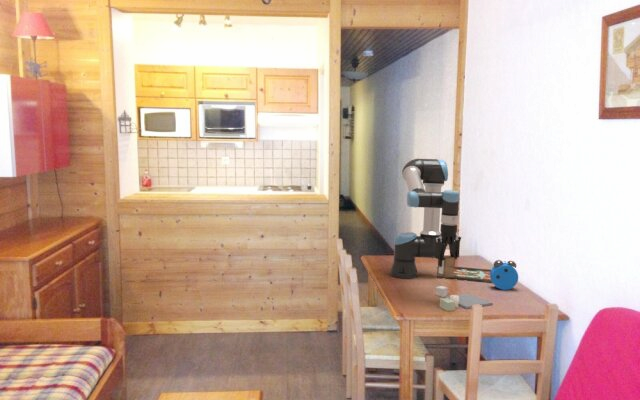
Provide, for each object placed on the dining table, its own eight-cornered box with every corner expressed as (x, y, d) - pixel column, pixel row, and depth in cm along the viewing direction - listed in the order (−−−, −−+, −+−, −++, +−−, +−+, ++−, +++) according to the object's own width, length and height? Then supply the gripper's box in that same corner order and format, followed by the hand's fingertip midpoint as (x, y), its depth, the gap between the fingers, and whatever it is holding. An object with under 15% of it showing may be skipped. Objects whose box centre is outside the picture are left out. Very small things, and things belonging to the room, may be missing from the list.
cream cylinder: (447, 305, 247) (448, 295, 246) (454, 304, 249) (455, 294, 248) (453, 308, 243) (454, 297, 243) (460, 307, 245) (461, 296, 245)
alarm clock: (514, 287, 280) (516, 259, 278) (517, 291, 274) (520, 262, 272) (488, 286, 281) (490, 258, 279) (491, 289, 275) (493, 261, 273)
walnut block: (438, 274, 252) (439, 256, 251) (446, 274, 255) (447, 255, 254) (445, 277, 248) (446, 258, 247) (453, 276, 250) (454, 257, 249)
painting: (436, 268, 320) (436, 264, 320) (497, 273, 313) (497, 269, 313) (436, 279, 293) (437, 275, 293) (503, 285, 286) (504, 280, 286)
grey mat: (443, 298, 257) (443, 296, 257) (468, 295, 264) (468, 293, 264) (466, 309, 243) (466, 306, 243) (492, 304, 250) (492, 302, 250)
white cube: (435, 295, 263) (436, 287, 262) (440, 293, 266) (440, 285, 265) (442, 297, 260) (442, 289, 260) (447, 295, 263) (447, 287, 262)
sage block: (439, 307, 245) (439, 298, 244) (446, 306, 246) (447, 297, 246) (446, 311, 239) (447, 302, 239) (454, 310, 241) (454, 301, 240)
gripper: (438, 226, 241) (435, 276, 244) (469, 224, 249) (466, 273, 252) (428, 223, 248) (425, 272, 251) (459, 221, 256) (455, 269, 258)
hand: (445, 272), depth 251 cm, fingers closed on walnut block, 5 cm apart
